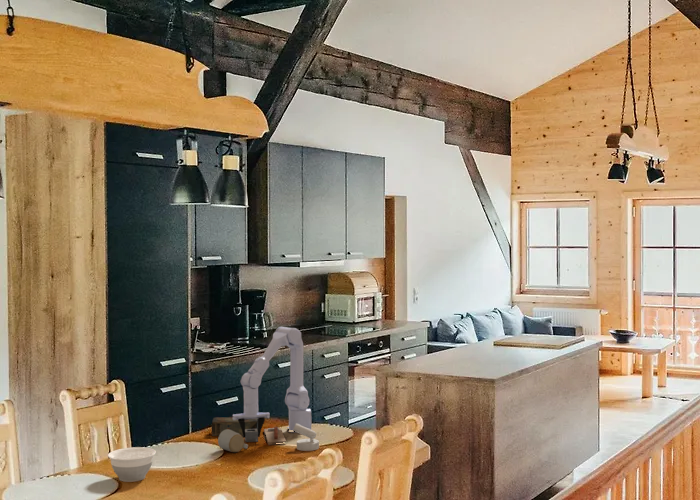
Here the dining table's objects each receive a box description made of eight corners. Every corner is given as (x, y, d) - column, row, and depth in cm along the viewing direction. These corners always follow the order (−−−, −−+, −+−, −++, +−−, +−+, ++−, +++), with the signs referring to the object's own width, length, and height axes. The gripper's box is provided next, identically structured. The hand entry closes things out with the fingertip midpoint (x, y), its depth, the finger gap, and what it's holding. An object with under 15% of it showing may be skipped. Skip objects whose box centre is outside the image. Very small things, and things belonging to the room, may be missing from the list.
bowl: (137, 468, 298) (137, 444, 297) (165, 476, 288) (165, 451, 287) (98, 479, 285) (98, 454, 285) (126, 488, 275) (126, 462, 275)
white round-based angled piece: (293, 420, 328) (319, 420, 328) (294, 445, 328) (319, 445, 328) (291, 425, 320) (318, 425, 319) (292, 450, 320) (318, 450, 320)
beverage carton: (258, 435, 345) (258, 419, 345) (211, 436, 344) (210, 420, 344) (258, 430, 353) (258, 415, 353) (212, 432, 352) (212, 416, 352)
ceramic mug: (229, 454, 315) (229, 434, 315) (217, 450, 321) (217, 430, 321) (252, 450, 322) (252, 430, 322) (240, 446, 328) (240, 426, 328)
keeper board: (280, 431, 351) (280, 417, 351) (286, 444, 330) (285, 429, 330) (264, 431, 350) (263, 418, 350) (268, 445, 328) (268, 430, 328)
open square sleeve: (257, 438, 339) (257, 428, 339) (258, 441, 334) (258, 431, 334) (244, 439, 338) (244, 429, 338) (245, 442, 333) (245, 432, 333)
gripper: (267, 400, 341) (268, 433, 342) (231, 402, 338) (232, 435, 338) (270, 403, 335) (270, 437, 335) (233, 405, 331) (233, 439, 332)
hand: (251, 436), depth 336 cm, fingers closed on open square sleeve, 5 cm apart
